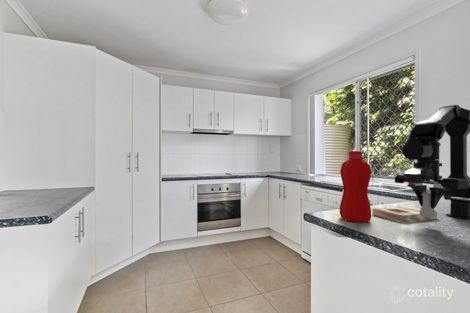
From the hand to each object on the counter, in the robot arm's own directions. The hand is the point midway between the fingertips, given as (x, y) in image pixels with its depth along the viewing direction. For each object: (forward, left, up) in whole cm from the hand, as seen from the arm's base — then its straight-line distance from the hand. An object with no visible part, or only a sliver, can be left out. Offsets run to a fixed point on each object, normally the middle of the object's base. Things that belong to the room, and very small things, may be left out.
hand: (427, 207), depth 78 cm
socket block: (-6, -12, -6) cm, 15 cm away
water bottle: (+15, -14, -7) cm, 22 cm away
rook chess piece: (0, 0, -3) cm, 3 cm away
